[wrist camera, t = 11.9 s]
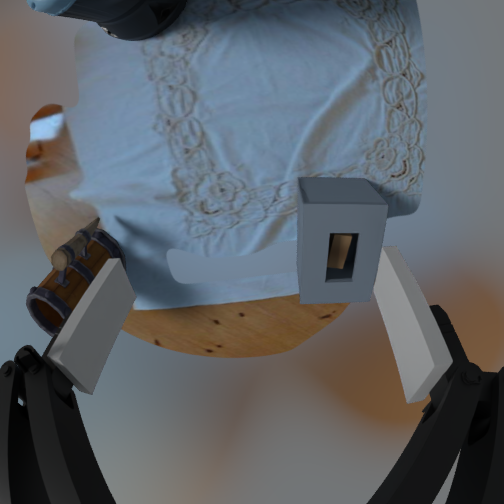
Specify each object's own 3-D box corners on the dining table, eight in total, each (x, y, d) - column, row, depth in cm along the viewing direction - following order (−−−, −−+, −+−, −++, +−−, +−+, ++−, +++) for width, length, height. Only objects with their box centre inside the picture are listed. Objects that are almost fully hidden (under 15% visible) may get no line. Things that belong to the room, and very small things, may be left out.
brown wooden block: (325, 210, 44) (334, 234, 38) (340, 212, 44) (352, 236, 37) (319, 239, 47) (326, 267, 40) (333, 241, 47) (342, 268, 40)
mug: (78, 195, 47) (11, 249, 30) (137, 224, 49) (82, 293, 32) (71, 265, 56) (25, 323, 40) (121, 292, 59) (82, 359, 42)
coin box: (297, 177, 43) (304, 204, 33) (364, 178, 41) (388, 205, 32) (296, 262, 51) (300, 303, 42) (354, 261, 50) (369, 301, 41)
